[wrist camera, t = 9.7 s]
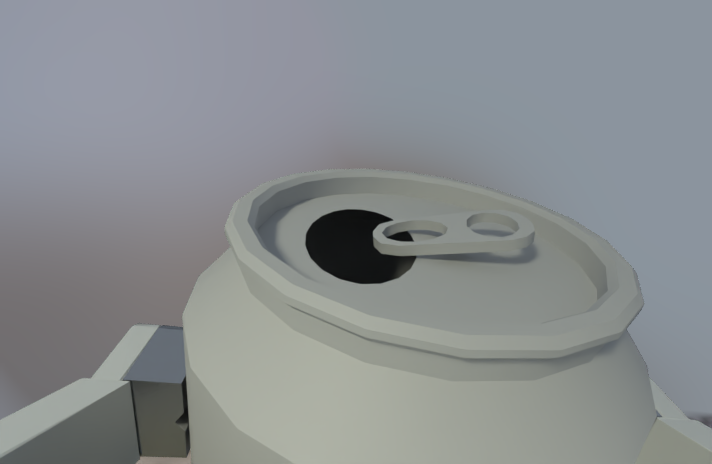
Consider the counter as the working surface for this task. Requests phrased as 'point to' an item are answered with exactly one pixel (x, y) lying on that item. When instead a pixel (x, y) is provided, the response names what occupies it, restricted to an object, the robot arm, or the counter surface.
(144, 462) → the counter surface
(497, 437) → the can
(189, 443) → the robot arm
